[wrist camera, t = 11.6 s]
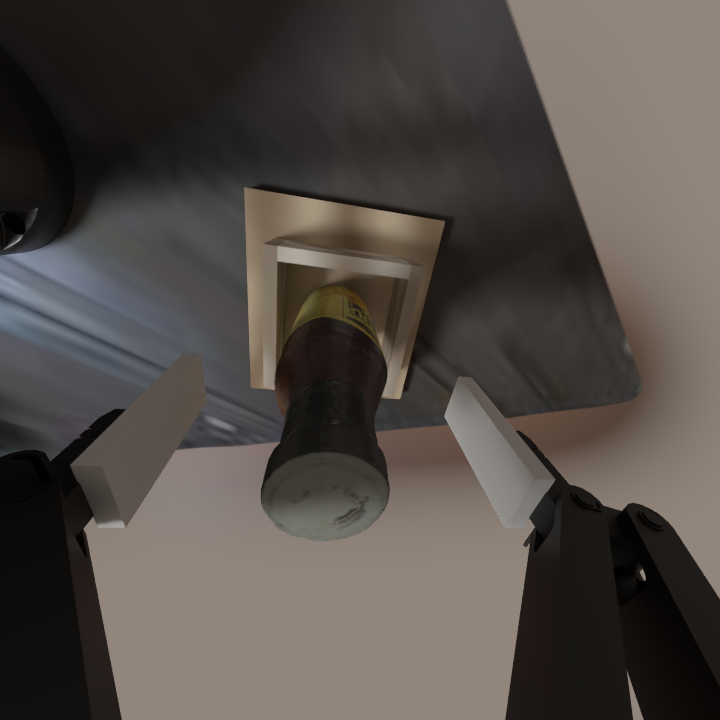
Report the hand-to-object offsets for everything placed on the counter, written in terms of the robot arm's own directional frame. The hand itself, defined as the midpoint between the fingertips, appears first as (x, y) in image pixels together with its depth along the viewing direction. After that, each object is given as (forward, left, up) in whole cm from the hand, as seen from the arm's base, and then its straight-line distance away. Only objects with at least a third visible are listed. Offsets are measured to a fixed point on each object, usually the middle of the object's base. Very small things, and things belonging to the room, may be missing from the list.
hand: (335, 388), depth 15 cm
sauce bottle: (0, 0, -13) cm, 13 cm away
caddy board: (0, 0, -14) cm, 14 cm away
